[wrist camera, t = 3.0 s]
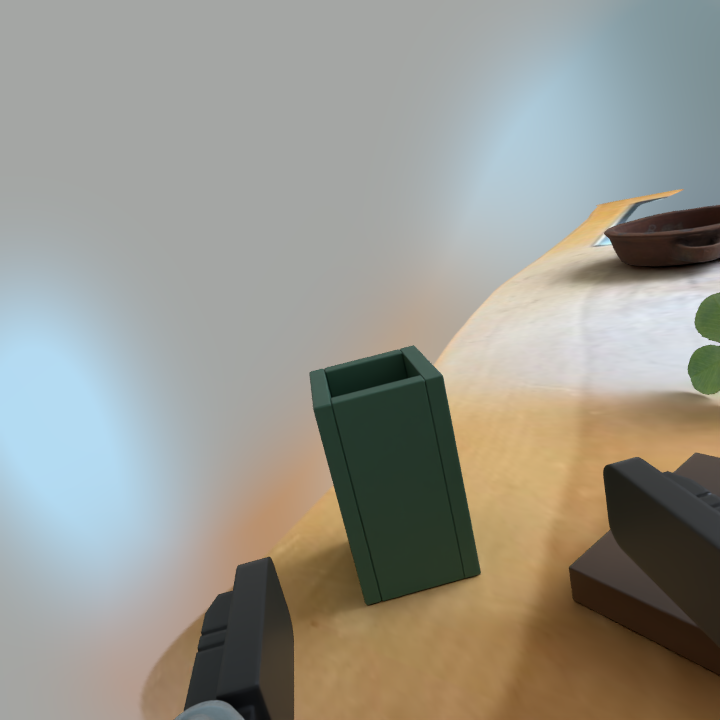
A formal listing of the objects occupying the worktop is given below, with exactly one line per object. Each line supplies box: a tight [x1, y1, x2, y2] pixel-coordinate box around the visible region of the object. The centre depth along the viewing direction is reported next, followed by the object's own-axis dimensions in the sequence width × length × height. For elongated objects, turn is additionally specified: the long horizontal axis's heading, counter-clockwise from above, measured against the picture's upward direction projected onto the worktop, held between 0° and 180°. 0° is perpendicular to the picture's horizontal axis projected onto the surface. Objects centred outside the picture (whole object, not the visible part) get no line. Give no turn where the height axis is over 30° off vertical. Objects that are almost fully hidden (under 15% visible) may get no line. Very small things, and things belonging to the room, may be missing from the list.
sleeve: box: [310, 346, 481, 605], centre depth 24 cm, size 5×5×9 cm
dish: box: [604, 205, 720, 266], centre depth 69 cm, size 18×22×5 cm
